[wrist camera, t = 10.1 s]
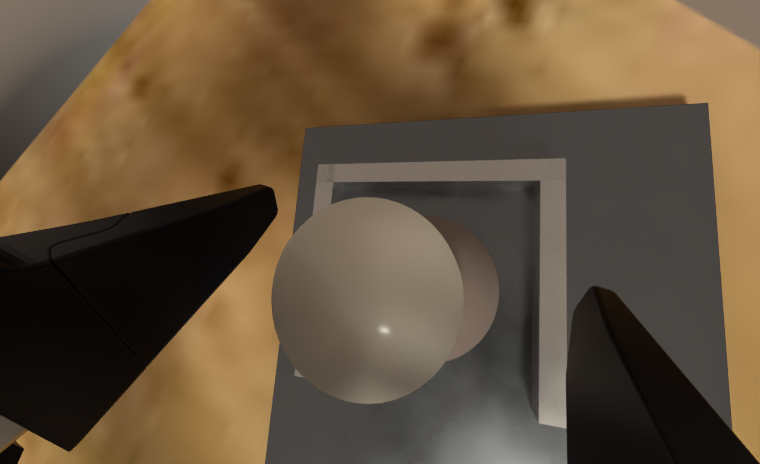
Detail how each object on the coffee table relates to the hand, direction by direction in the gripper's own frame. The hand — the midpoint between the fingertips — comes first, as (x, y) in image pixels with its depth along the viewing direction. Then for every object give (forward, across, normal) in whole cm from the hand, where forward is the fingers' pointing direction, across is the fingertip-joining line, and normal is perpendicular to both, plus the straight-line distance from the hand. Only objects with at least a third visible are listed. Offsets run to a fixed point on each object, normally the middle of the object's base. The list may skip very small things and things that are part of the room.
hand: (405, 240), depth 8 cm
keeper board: (+5, -2, +7) cm, 9 cm away
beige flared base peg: (+4, 0, +6) cm, 8 cm away
